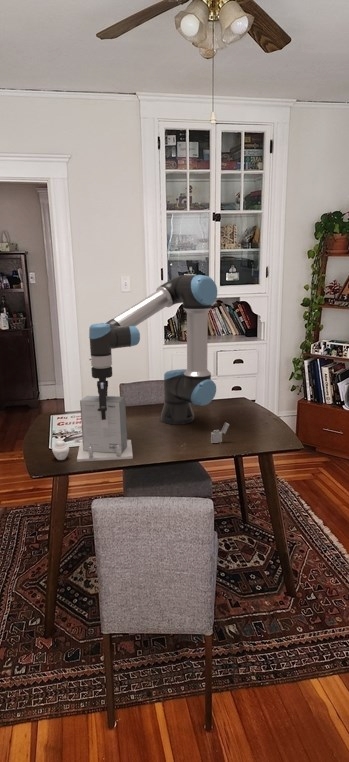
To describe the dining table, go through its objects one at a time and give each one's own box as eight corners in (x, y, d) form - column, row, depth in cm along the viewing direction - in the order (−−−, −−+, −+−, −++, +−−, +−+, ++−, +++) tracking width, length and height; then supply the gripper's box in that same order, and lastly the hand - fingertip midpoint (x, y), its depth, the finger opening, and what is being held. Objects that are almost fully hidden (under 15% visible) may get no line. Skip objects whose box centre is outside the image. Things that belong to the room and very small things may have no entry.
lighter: (212, 444, 192) (212, 424, 191) (210, 442, 194) (210, 423, 192) (229, 442, 194) (229, 423, 192) (227, 441, 196) (228, 422, 194)
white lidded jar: (49, 460, 178) (48, 442, 176) (59, 454, 183) (57, 436, 182) (64, 462, 176) (62, 444, 174) (73, 456, 181) (72, 438, 180)
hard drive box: (127, 446, 188) (126, 396, 183) (122, 453, 181) (120, 401, 176) (89, 444, 191) (86, 394, 186) (82, 451, 184) (79, 400, 179)
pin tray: (131, 442, 196) (130, 430, 194) (132, 458, 179) (132, 445, 177) (80, 444, 193) (79, 432, 192) (77, 461, 176) (76, 448, 175)
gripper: (92, 360, 190) (95, 412, 195) (89, 374, 166) (93, 433, 171) (112, 359, 191) (114, 411, 196) (111, 373, 167) (114, 432, 172)
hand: (104, 421), depth 183 cm, fingers open, 13 cm apart
